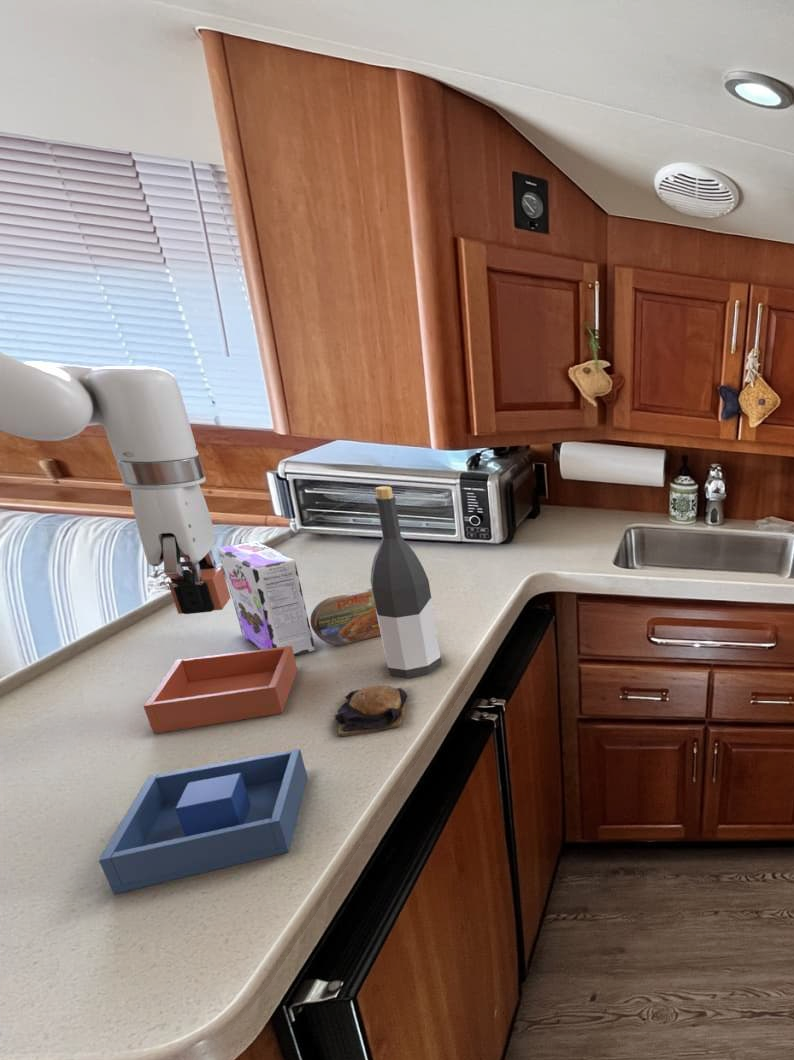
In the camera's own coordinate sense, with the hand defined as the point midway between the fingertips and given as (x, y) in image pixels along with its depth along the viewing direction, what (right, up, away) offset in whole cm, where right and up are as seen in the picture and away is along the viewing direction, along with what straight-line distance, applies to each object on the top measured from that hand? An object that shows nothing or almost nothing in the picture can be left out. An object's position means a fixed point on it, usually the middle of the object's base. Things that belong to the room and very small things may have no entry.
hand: (204, 603), depth 86 cm
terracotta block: (0, 0, 0) cm, 0 cm away
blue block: (+17, -24, -17) cm, 34 cm away
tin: (+4, -6, +27) cm, 28 cm away
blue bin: (+17, -25, -16) cm, 34 cm away
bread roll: (+19, -16, +6) cm, 26 cm away
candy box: (-8, -7, +22) cm, 24 cm away
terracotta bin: (-2, -14, +6) cm, 15 cm away
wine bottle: (+17, -11, +19) cm, 28 cm away
